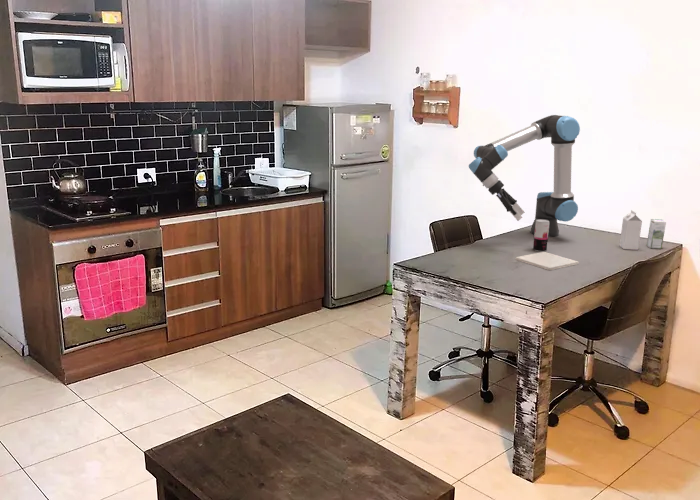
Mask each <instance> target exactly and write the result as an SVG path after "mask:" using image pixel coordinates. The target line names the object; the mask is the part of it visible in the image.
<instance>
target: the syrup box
mask: <svg viewBox="0 0 700 500" xmlns="http://www.w3.org/2000/svg"><path fill="white" fill-rule="evenodd" d="M666 225H667V222H666V220H664V219H662V218H661V219H660V218H657V219H656V218H650V221H649V228H648V234H647V242H646V247H648V248H650V249H657V250H658V249H660V250H662V249H663V243H664V236H665V230H666Z"/></svg>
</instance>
